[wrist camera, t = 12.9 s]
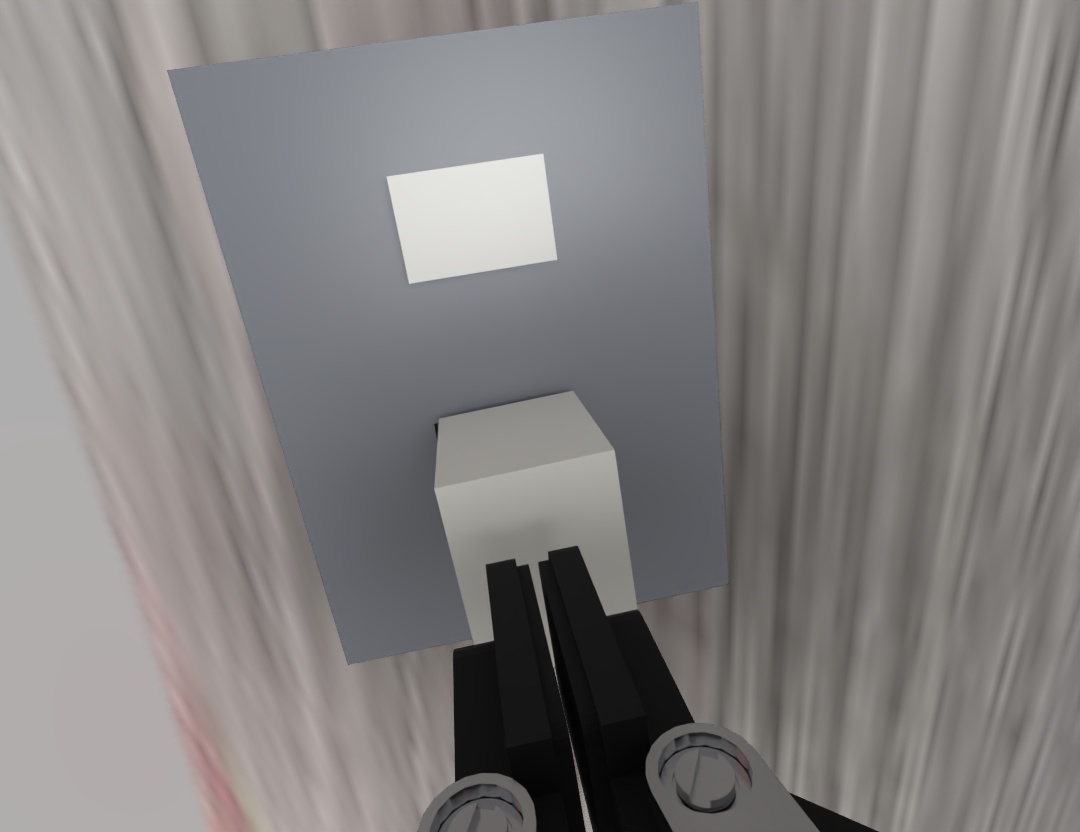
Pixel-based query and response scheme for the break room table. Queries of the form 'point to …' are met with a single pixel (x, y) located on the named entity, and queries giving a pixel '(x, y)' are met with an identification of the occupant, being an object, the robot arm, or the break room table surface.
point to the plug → (531, 500)
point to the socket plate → (472, 283)
